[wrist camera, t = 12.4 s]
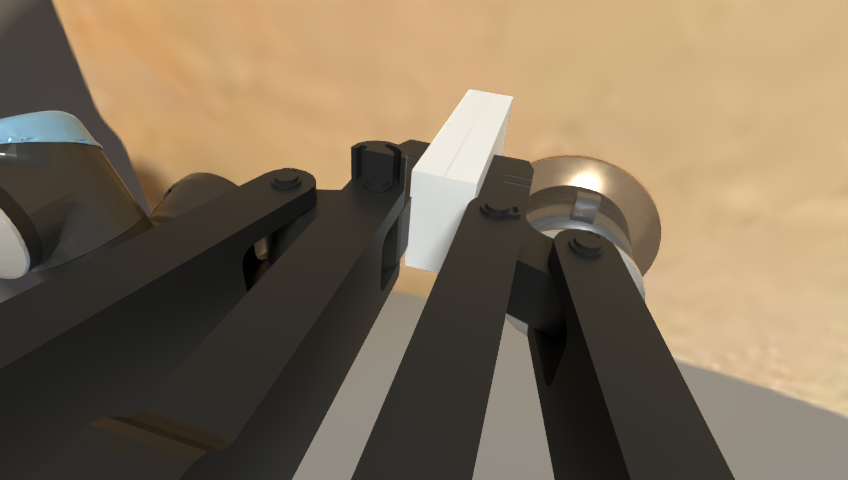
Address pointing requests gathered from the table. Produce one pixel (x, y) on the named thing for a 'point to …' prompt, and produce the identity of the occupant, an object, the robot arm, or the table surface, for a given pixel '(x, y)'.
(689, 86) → the table surface
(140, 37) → the table surface
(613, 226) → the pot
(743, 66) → the table surface
